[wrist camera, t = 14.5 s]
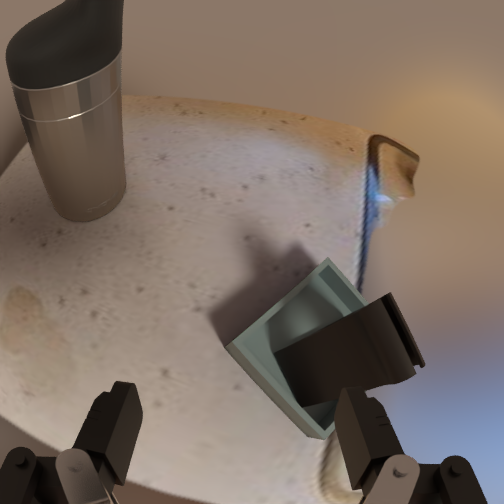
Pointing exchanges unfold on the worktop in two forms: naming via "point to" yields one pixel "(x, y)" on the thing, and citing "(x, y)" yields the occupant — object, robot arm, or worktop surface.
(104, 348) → the worktop surface
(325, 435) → the slate tray
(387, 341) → the phone stand
